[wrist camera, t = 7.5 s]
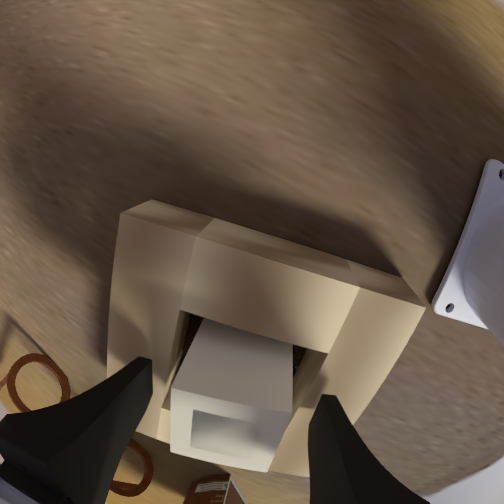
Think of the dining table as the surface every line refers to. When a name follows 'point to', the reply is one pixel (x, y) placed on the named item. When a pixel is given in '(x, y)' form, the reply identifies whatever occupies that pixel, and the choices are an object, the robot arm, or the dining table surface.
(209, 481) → the food container
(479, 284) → the robot arm
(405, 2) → the dining table surface
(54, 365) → the glasses
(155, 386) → the holder
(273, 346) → the connector plug
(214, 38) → the dining table surface
